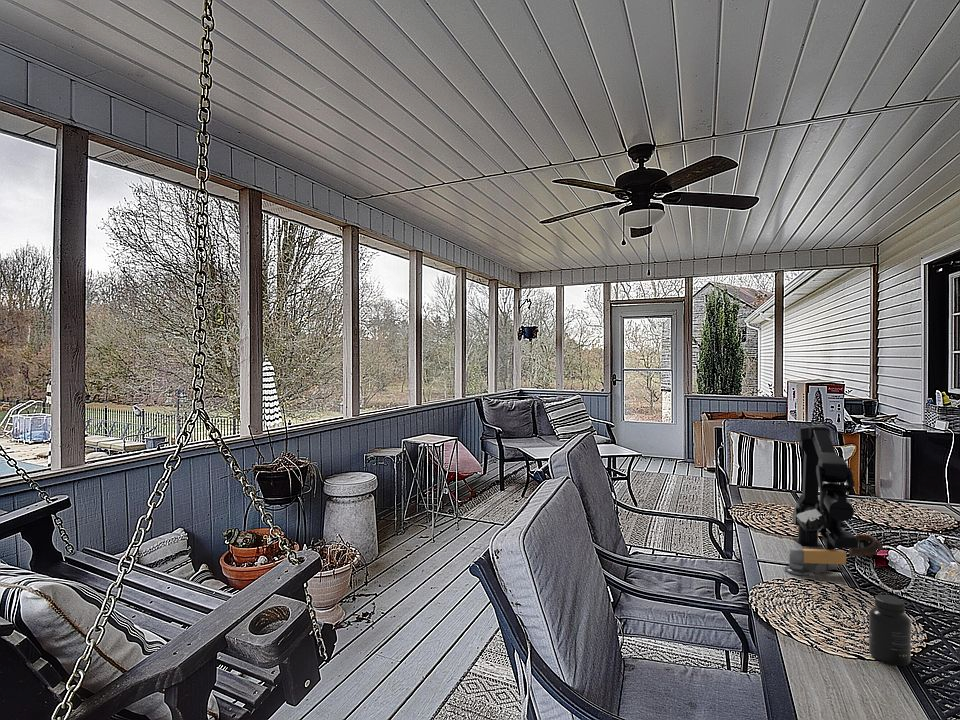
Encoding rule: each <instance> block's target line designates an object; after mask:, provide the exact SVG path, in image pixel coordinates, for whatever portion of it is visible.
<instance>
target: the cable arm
mask: <svg viewBox="0 0 960 720" xmlns="http://www.w3.org/2000/svg"><path fill="white" fill-rule="evenodd" d="M788 550H789V552H788V553H789V558H788V559H789V561H790V562H792V563H796V564H803V563H818V564H838V565H847V552H846V551H845V550H843V549H834V550H828V549H826V548H825V549H824V548H822V549H821V548H820V549H819V548H800V547H789V549H788Z"/></svg>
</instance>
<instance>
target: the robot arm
mask: <svg viewBox="0 0 960 720" xmlns="http://www.w3.org/2000/svg"><path fill="white" fill-rule="evenodd" d="M796 433H797V434H796V439H797V441H798V444H799V446H800V448H801V449H802V451H803V473H802V493H801V495H800V496H799V497H798V498H797V499H796V505H795V506H794V507H793V511H792V515H791V517H792V523H793V524H794V526H797V537H796V538H793V540H794V541H795V542H796V543H798V544H799V545H801V546H803V547H823V544H822V543H820V542H819V534H820V535H821V536H822V540H823V543H824V547H825V549H828V550H835V549H849V548H858V547H859V540H858V539H857V538H856V537H855V536H856V535H854V534H853V533H852V532H851V531H850V530H845V528H846V527H847V525H846V523H845V522H846V521H849V520H851V519H852V518H853V516H854V515H855V510H854V507H853V506H852V504H851V502H850V500H849V499H848V497H847V493H853V492H854V490H853V489H854V487H855V480H854V476H853V471H852V470H851V467H850V466H848V463H846V460H845V459H844V458H843V457H841V456H840V455H838V454H837V451H836V449H835V446H834V443H833V441H832V437H831V436H832V435H831V429H830V428H829V427H827V426H825V425H822V426H821V425H812V426H809V427H804V426H802V427H801V428H799V429H797V432H796Z"/></svg>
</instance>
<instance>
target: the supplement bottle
mask: <svg viewBox="0 0 960 720" xmlns="http://www.w3.org/2000/svg"><path fill="white" fill-rule="evenodd" d="M874 600H875V601H874V607H873V608H871V609H870V611H869V615H868V651H869V653H870V655H871V656H872V657H873V658H874V659H876V660H878V661H879V662H882V663H885V664H887V665H891V666H895V667H905V666H908V665H909V664H910V663H911V655H912V654H911V653H912V650H911V649H912V646H911V643H912V641H911V638H912V635H911V633H912V631H911V630H912V627H911V626H912V623H911V619H910V618H909V616H908V615H907V614H905V613H906V608H905V601H904V600H903V599H900V598H899V597H896V596H893V595H888V594H876V595H875V597H874Z"/></svg>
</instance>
